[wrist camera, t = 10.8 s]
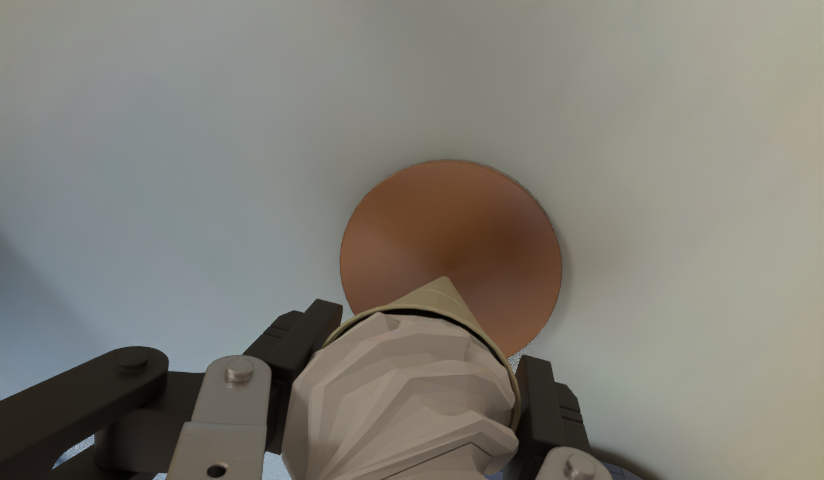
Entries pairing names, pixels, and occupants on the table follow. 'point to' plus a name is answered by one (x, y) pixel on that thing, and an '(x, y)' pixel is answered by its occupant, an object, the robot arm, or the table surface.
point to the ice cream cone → (404, 396)
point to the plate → (619, 474)
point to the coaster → (456, 247)
